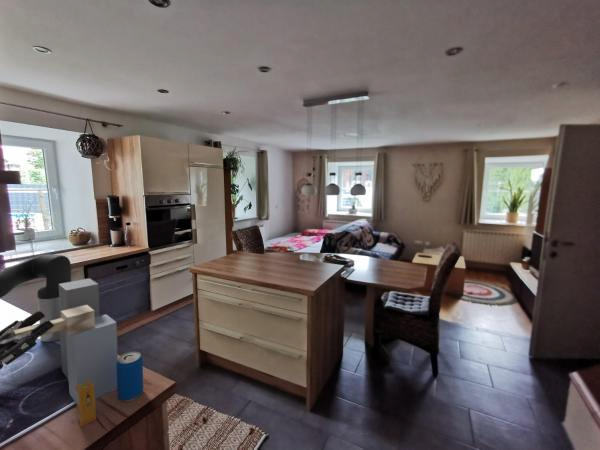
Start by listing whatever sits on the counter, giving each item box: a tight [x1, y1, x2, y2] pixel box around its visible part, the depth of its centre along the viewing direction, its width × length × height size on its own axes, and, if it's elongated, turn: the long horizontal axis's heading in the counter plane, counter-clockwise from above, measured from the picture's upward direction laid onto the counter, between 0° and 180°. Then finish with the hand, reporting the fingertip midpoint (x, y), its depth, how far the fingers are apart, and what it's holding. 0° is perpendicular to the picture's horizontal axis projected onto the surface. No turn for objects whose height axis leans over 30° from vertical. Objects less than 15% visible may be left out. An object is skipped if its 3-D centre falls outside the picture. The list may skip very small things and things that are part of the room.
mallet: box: [14, 305, 95, 336], centre depth 74 cm, size 16×6×5 cm, turn 143°
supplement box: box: [75, 380, 97, 428], centre depth 72 cm, size 3×4×10 cm
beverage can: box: [116, 351, 144, 402], centre depth 81 cm, size 6×6×12 cm
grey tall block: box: [66, 314, 119, 405], centre depth 82 cm, size 8×10×21 cm
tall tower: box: [59, 278, 101, 381], centre depth 89 cm, size 12×8×30 cm, turn 53°
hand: (46, 317), depth 72 cm, fingers open, 8 cm apart
